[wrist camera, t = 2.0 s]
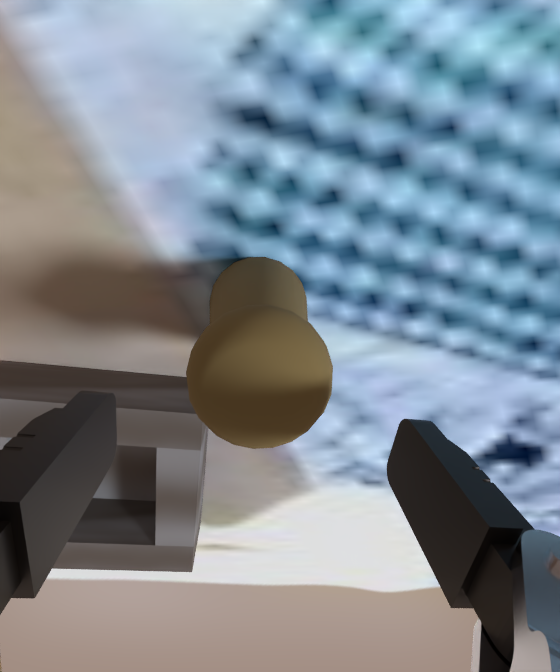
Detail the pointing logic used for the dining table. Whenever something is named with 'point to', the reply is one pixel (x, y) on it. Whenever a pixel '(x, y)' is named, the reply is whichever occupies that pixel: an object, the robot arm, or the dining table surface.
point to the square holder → (125, 465)
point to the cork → (259, 358)
